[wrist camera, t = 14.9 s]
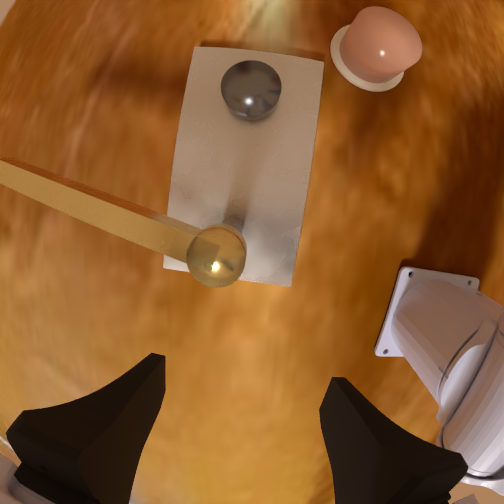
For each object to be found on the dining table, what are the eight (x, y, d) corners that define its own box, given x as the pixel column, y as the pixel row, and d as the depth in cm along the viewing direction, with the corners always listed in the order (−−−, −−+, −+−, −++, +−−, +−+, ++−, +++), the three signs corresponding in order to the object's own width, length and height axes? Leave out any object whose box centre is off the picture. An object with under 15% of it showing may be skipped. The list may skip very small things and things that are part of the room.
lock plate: (321, 66, 17) (347, 22, 11) (288, 281, 21) (302, 328, 14) (197, 51, 17) (172, 4, 10) (167, 263, 21) (130, 300, 14)
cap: (398, 42, 16) (421, 23, 12) (395, 92, 17) (421, 77, 13) (342, 22, 16) (356, -3, 12) (335, 72, 17) (352, 50, 13)
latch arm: (254, 235, 13) (254, 242, 11) (235, 282, 14) (233, 295, 12) (14, 148, 12) (-3, 147, 10) (6, 186, 12) (-11, 188, 11)
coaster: (402, 40, 16) (404, 38, 16) (401, 101, 18) (403, 100, 17) (332, 17, 16) (333, 15, 16) (326, 80, 18) (328, 78, 17)
